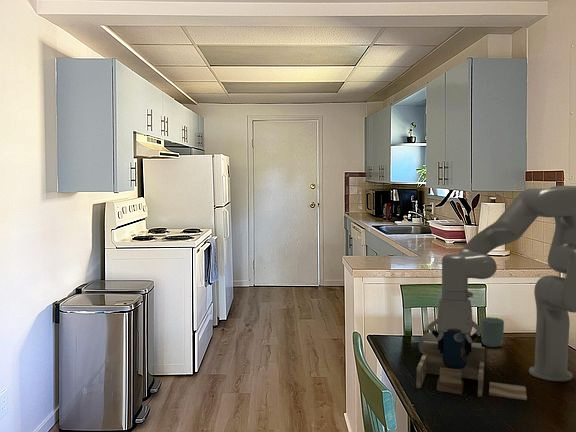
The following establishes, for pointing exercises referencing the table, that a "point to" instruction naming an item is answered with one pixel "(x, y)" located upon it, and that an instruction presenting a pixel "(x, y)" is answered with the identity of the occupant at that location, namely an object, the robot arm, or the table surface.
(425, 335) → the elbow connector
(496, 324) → the cup
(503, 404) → the table surface
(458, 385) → the offcut walnut
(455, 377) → the offcut oak
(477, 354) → the rack
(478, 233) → the robot arm
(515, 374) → the table surface
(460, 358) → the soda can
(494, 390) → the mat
